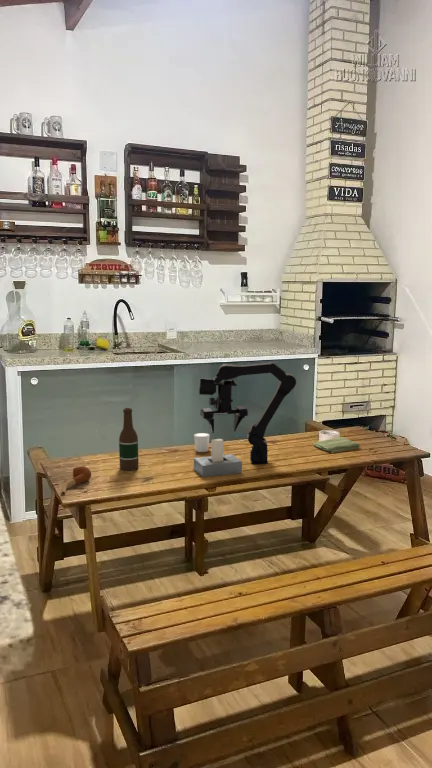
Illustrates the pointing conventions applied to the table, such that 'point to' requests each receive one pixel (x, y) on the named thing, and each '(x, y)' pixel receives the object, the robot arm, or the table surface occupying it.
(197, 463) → the box
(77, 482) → the smoking pipe
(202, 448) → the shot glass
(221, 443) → the block
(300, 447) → the table surface
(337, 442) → the washcloth
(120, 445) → the beer bottle
